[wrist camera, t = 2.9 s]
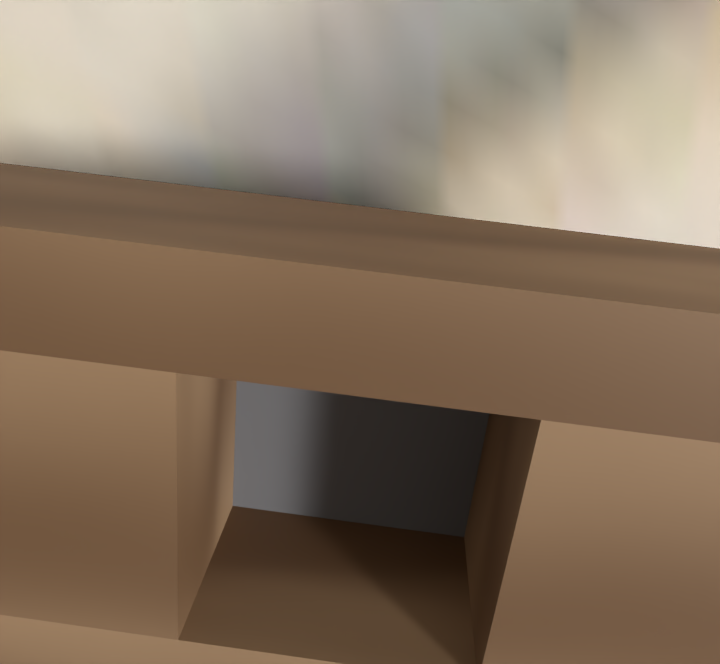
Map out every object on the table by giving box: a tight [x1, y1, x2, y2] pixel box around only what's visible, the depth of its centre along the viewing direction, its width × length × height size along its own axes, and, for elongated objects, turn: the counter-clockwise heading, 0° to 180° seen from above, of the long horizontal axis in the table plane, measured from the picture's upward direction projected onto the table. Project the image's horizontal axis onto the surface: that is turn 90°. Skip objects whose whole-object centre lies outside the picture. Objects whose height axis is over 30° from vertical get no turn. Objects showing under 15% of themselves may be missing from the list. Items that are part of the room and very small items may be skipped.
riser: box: [233, 381, 490, 537], centre depth 13 cm, size 9×6×4 cm, turn 174°
